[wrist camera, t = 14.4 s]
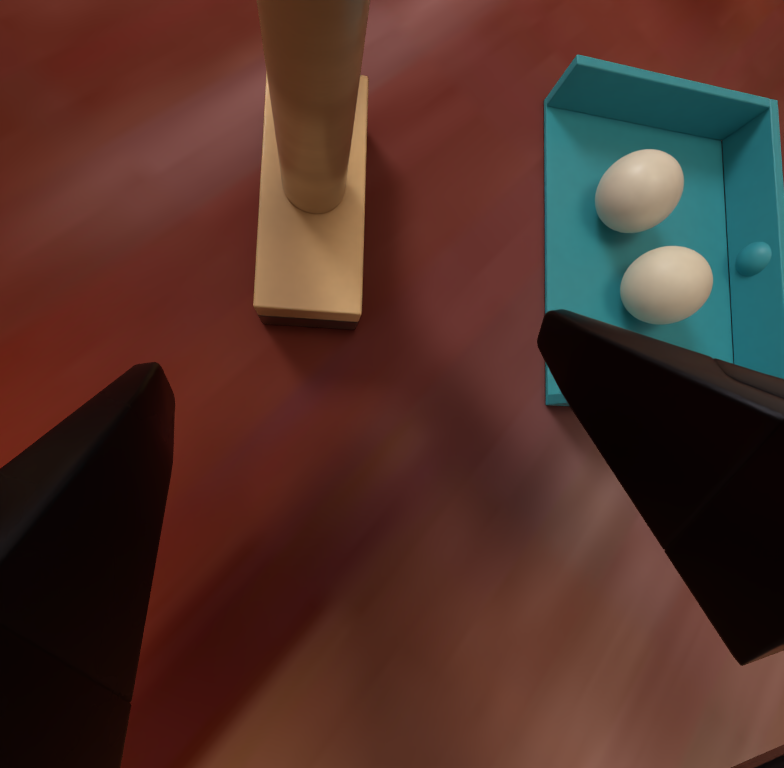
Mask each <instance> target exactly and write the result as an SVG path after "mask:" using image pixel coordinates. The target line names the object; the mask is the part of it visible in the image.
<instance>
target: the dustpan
mask: <svg viewBox="0 0 784 768" xmlns="http://www.w3.org/2000/svg"><path fill="white" fill-rule="evenodd" d="M721 140H722V144H721ZM722 147H723V163H722ZM644 149H655V150H660V151H663V152H666V153H668V154H670V155H671V156H672V157H674V158H675V159H676V160H677V162H678V163H679V165H680V166H681V168H682V171H683V175H684V188H683V192H682V195H681V198H680V200H679V202H678V204H677V206H676V207H675V209H674V210H673V211H672V212H671V214H670V215H669V216H668V217H667V218H666V219H665V220H663V221H662V222H661V223H659V224H658V225H656V226H654V227H652V228H650V229H648V230H645V231H642V232H637V233H622V232H618V231H615V230H613V229H611V228H609V227H607V226H606V225H605V224H604V223H603V222H602V221H601V219H600V218H599V216H598V214H597V211H596V207H595V194H596V190H597V187H598V184H599V182H600V180H601V178H602V176H603V175H604V173H605V172H606V171H607V170H608V168H609V167H610V166H612V165H613V164H614V163H615V162H616V161H617V160H619V159H620V158H622V157H624V156H625V155H627V154H630V153H632V152H635V151H639V150H644ZM723 166H724V181H723ZM544 183H545V314H546V313H547V312H548V311H551V310H558V309H565V310H568V311H571V312H574V313H578V314H581V315H584V316H587V317H590V318H593V319H596V320H599V321H602V322H605V323H608V324H612V325H615V326H618V327H621V328H624V329H627V330H630V331H633V332H636V333H639V334H643V335H646V336H649V337H652V338H655V339H658V340H661V341H664V342H667V343H670V344H673V345H677V346H680V347H683V348H686V349H689V350H692V351H695V352H698V353H701V354H704V355H707V356H711V357H712V358H713V359H714V358H717V359H720V360H723V361H726V362H729V363H732V364H733V351H734V364H736V365H739V366H742V367H745V368H748V369H752V370H755V371H758V372H761V373H765V374H768V375H772V376H775V377H778V378H782V379H784V187H783V172H782V158H781V144H780V130H779V115H778V101H777V100H773V99H769V98H764V97H760V96H756V95H751V94H747V93H743V92H738V91H734V90H730V89H725V88H721V87H717V86H712V85H708V84H704V83H699V82H695V81H691V80H686V79H682V78H678V77H673V76H669V75H664V74H660V73H656V72H651V71H647V70H643V69H638V68H634V67H630V66H625V65H621V64H617V63H612V62H608V61H604V60H599V59H595V58H591V57H586V56H582V55H576V57H575V58H574V60H573V61H572V62H571V64H570V65H569V67H568V68H567V69H566V71H565V72H564V74H563V75H562V76H561V78H560V79H559V81H558V82H557V83H556V85H555V86H554V88H553V89H552V90H551V92H550V93H549V95H548V96H547V98H545V100H544ZM724 184H725V200H724ZM725 203H726V219H725ZM726 221H727V237H726ZM727 240H728V256H727ZM664 246H681V247H686V248H689V249H692V250H694V251H696V252H697V253H699V254H700V255H702V256H703V257H704V258H705V259H706V261H707V262H708V263H709V265H710V267H711V270H712V274H713V286H712V290H711V293H710V295H709V297H708V299H707V301H706V302H705V303H704V305H703V306H702V307H701V308H700V309H699V310H698V311H697V312H695V313H694V314H693V315H691V316H689V317H688V318H686V319H684V320H681V321H679V322H675V323H671V324H663V325H658V324H650V323H646V322H643V321H641V320H638V319H637V318H635V317H634V316H632V315H631V314H630V313H629V312H628V311H627V310H626V308H625V307H624V305H623V303H622V300H621V296H620V286H621V281H622V278H623V276H624V274H625V272H626V270H627V269H628V267H629V266H630V265H631V264H632V263H633V262H634V261H635V260H636V259H637V258H638V257H640V256H641V255H643V254H644V253H646V252H648V251H650V250H653V249H656V248H660V247H664ZM728 258H729V274H728ZM729 277H730V293H729ZM730 295H731V311H730ZM731 314H732V330H731ZM732 332H733V349H732ZM545 369H546V405H555V406H569V404H568V403H567V401H566V399H565V398H564V396H563V395H562V393H561V391H560V389H559V387H558V386H557V384H556V382H555V380H554V378H553V376H552V374H551V372H550V370H549V368H548V366H547V364H546V362H545Z"/></svg>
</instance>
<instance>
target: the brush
mask: <svg viewBox="0 0 784 768" xmlns="http://www.w3.org/2000/svg"><path fill="white" fill-rule="evenodd" d="M369 4H370V0H257V5H258V13H259V20H260V27H261V34H262V42H263V49H264V56H265V63H266V71H267V73H266V91H265V108H264V126H263V144H262V161H261V179H260V196H259V214H258V232H257V249H256V267H255V284H254V302H253V306H254V308H255V310H256V312H257V314H258V316H259V318H260V320H261V322H262V323H263V324H274V325H289V326H305V327H320V328H336V329H351V330H354V329H355V328H356V326H357V324H358V321H359V319H360V316H361V314H362V290H363V255H364V221H365V186H366V151H367V117H368V82H369V79H368V77H367V76H362V75H360V73H361V66H362V58H363V50H364V43H365V35H366V27H367V20H368V12H369Z"/></svg>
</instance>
